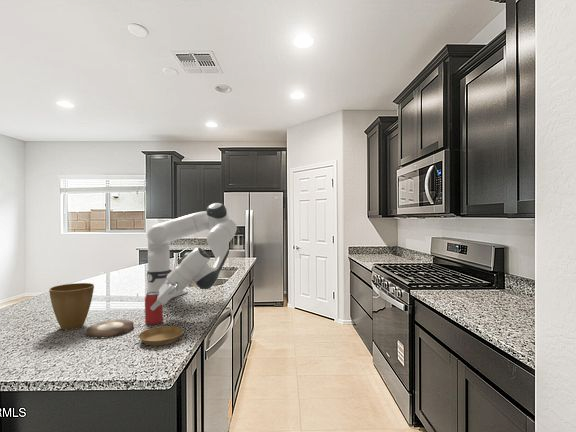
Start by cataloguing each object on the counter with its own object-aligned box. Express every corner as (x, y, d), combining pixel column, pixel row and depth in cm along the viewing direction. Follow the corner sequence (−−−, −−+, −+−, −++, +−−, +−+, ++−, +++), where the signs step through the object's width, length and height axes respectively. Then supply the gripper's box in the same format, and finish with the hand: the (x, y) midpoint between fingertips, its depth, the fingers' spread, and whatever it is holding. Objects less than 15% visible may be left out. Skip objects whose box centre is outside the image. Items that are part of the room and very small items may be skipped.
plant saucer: (168, 329, 127) (168, 323, 127) (192, 338, 118) (191, 331, 118) (130, 341, 115) (130, 334, 115) (152, 352, 106) (152, 344, 106)
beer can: (166, 320, 137) (165, 291, 137) (154, 326, 131) (154, 295, 131) (153, 319, 139) (152, 290, 139) (141, 324, 133) (141, 294, 133)
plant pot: (46, 336, 121) (45, 292, 121) (53, 324, 134) (52, 285, 134) (93, 329, 128) (93, 287, 128) (95, 318, 141) (95, 281, 141)
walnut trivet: (117, 321, 138) (117, 317, 138) (142, 327, 130) (142, 323, 129) (77, 333, 124) (77, 328, 124) (101, 341, 116) (101, 336, 116)
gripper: (183, 290, 129) (156, 318, 126) (182, 281, 148) (159, 305, 145) (171, 280, 127) (143, 308, 124) (171, 271, 147) (148, 295, 144)
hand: (152, 306), depth 135 cm, fingers closed on beer can, 7 cm apart
